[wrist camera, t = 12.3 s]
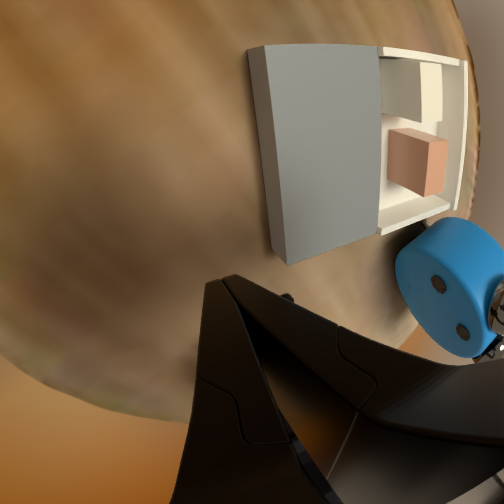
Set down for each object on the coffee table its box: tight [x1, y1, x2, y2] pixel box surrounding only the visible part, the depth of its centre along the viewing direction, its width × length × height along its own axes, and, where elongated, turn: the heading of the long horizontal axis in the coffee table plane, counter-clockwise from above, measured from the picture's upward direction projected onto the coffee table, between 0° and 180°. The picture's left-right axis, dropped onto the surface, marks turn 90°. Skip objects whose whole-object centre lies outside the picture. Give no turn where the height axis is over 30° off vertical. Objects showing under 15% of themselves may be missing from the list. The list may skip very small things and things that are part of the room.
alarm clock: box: [395, 217, 504, 363], centre depth 25 cm, size 13×6×15 cm, turn 26°
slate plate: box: [247, 44, 382, 266], centre depth 20 cm, size 14×8×2 cm, turn 8°
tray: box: [377, 47, 468, 236], centre depth 21 cm, size 14×10×4 cm
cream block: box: [379, 59, 442, 123], centre depth 18 cm, size 4×4×2 cm
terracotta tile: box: [387, 128, 448, 197], centre depth 21 cm, size 4×4×2 cm
